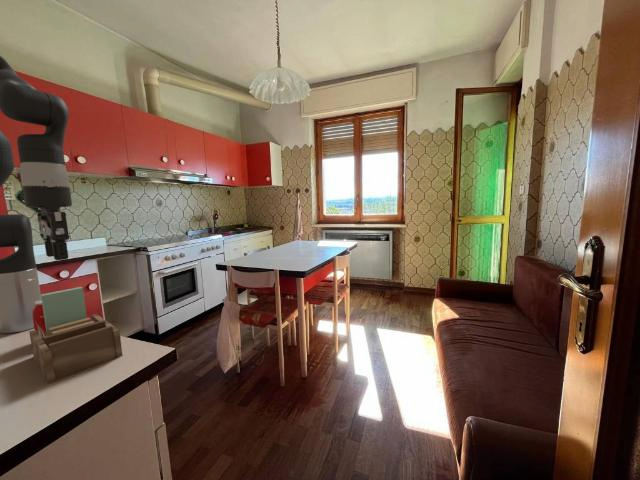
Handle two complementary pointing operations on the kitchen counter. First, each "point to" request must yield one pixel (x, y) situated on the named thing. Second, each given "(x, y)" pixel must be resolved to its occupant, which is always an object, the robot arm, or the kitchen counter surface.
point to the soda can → (39, 318)
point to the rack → (76, 349)
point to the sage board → (63, 307)
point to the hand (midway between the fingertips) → (57, 257)
